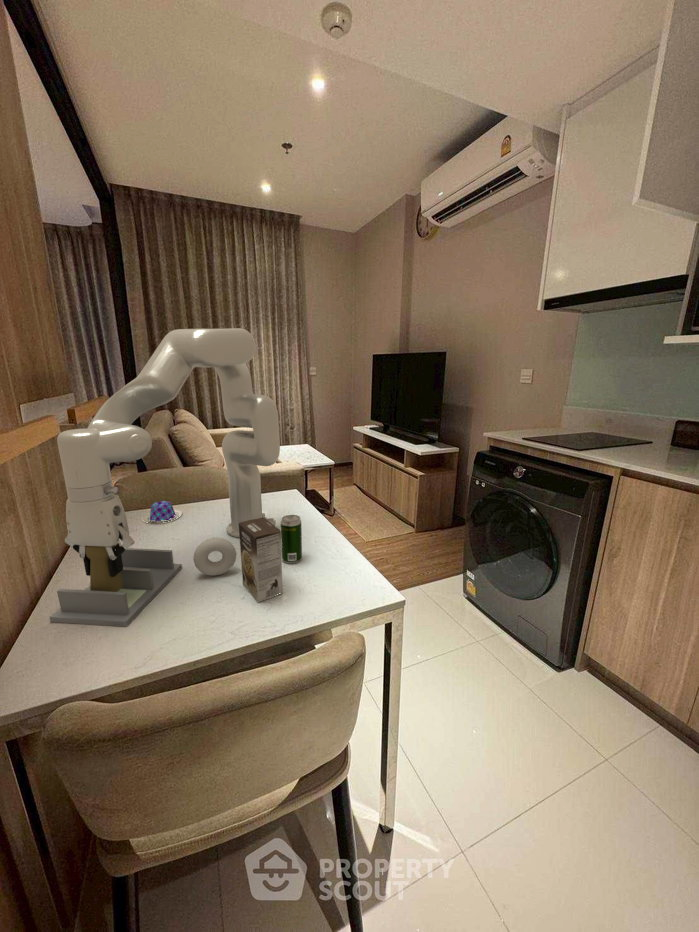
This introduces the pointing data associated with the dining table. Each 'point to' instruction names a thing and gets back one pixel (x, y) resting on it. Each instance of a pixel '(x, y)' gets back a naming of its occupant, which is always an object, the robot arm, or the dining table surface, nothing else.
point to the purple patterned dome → (163, 511)
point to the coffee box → (261, 558)
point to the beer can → (291, 539)
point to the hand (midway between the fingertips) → (105, 572)
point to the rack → (120, 591)
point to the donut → (211, 546)
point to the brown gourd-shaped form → (102, 571)
